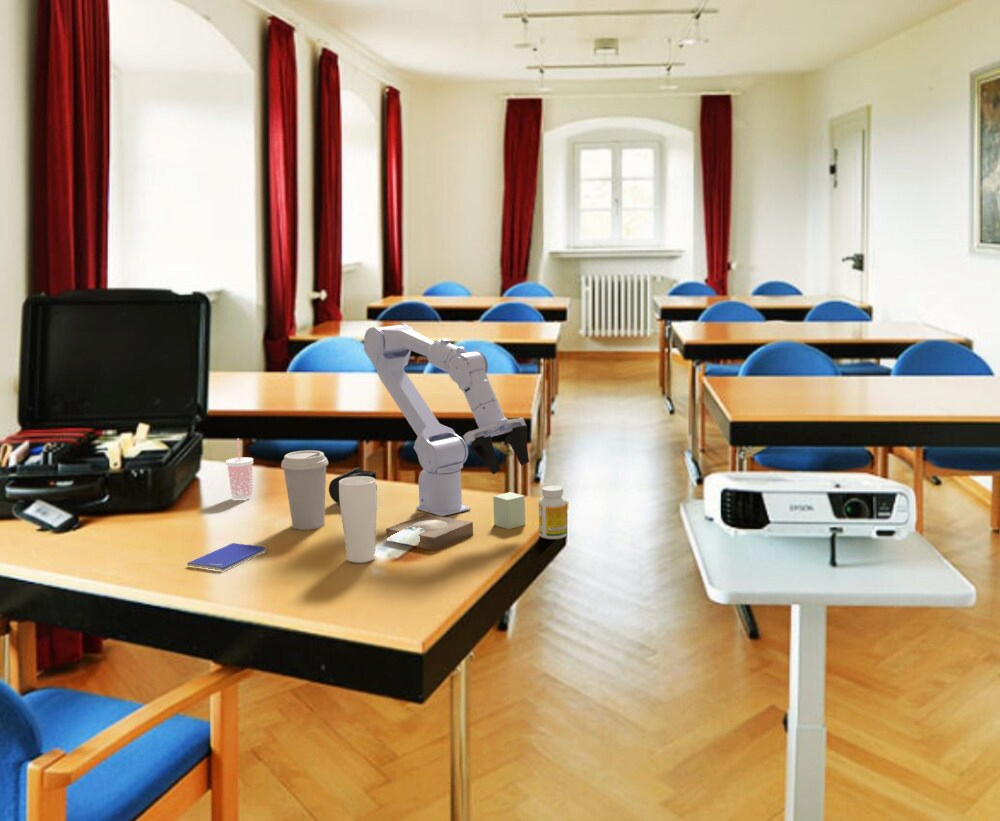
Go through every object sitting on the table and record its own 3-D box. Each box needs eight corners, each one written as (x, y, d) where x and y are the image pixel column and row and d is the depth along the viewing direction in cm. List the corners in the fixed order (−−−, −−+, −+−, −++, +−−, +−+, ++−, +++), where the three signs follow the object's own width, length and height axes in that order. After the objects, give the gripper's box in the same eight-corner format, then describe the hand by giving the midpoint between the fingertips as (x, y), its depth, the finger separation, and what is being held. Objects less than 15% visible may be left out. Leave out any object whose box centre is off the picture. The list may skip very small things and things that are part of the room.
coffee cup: (300, 535, 204) (295, 462, 201) (276, 525, 211) (271, 455, 208) (340, 525, 210) (336, 454, 207) (316, 516, 217) (312, 447, 215)
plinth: (386, 541, 198) (386, 528, 198) (426, 525, 208) (425, 513, 207) (434, 550, 191) (434, 537, 191) (473, 534, 201) (472, 521, 200)
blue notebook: (222, 566, 182) (265, 546, 194) (186, 561, 186) (231, 542, 197) (223, 575, 183) (266, 554, 194) (187, 570, 186) (231, 550, 197)
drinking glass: (338, 557, 189) (334, 478, 187) (374, 551, 192) (369, 474, 189) (348, 567, 183) (343, 486, 180) (384, 561, 186) (380, 481, 183)
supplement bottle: (533, 536, 198) (532, 488, 197) (551, 530, 202) (550, 483, 201) (555, 541, 195) (554, 492, 193) (572, 535, 199) (571, 487, 197)
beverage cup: (244, 502, 230) (239, 442, 228) (223, 500, 233) (218, 440, 230) (261, 496, 236) (257, 436, 233) (240, 493, 238) (236, 435, 236)
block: (494, 524, 207) (493, 496, 206) (511, 520, 210) (510, 491, 209) (508, 529, 204) (507, 500, 203) (525, 524, 207) (524, 495, 206)
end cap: (350, 495, 235) (348, 466, 233) (378, 496, 232) (376, 467, 231) (329, 506, 225) (327, 476, 224) (357, 508, 223) (356, 478, 222)
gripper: (466, 405, 198) (493, 469, 195) (522, 392, 207) (549, 452, 204) (449, 419, 203) (475, 481, 201) (504, 405, 212) (529, 465, 210)
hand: (511, 468), depth 203 cm, fingers open, 7 cm apart
